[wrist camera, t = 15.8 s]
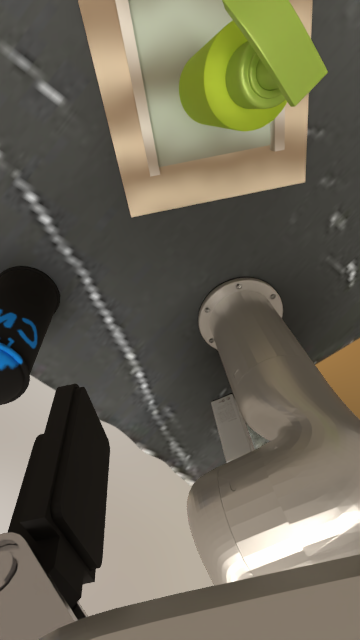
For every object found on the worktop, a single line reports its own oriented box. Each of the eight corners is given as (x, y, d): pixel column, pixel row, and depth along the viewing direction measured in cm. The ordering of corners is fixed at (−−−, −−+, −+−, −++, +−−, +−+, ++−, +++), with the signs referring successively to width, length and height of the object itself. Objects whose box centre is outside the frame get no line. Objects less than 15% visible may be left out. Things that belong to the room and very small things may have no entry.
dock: (294, 177, 40) (310, 184, 36) (131, 210, 40) (131, 221, 36) (299, -64, 29) (324, -90, 25) (75, -21, 29) (66, -40, 25)
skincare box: (209, 401, 59) (225, 461, 49) (232, 392, 58) (252, 451, 48) (221, 421, 62) (238, 481, 52) (242, 413, 62) (263, 472, 51)
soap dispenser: (203, 20, 29) (302, -107, 12) (251, 88, 32) (384, 63, 15) (157, 79, 31) (187, 39, 14) (207, 138, 34) (282, 165, 17)
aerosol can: (49, 328, 47) (2, 450, 30) (-13, 308, 44) (-102, 429, 27) (68, 281, 44) (28, 388, 27) (2, 255, 41) (-89, 357, 24)
